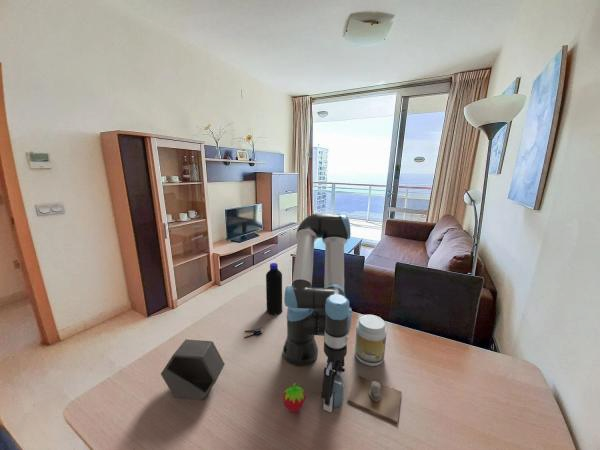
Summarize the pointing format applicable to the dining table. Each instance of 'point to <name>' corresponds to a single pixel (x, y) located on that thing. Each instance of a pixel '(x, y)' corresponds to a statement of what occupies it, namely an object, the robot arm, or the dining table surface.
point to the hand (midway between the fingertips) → (332, 397)
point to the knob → (337, 391)
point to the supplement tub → (370, 340)
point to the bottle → (274, 290)
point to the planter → (193, 369)
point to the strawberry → (294, 398)
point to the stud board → (375, 398)
